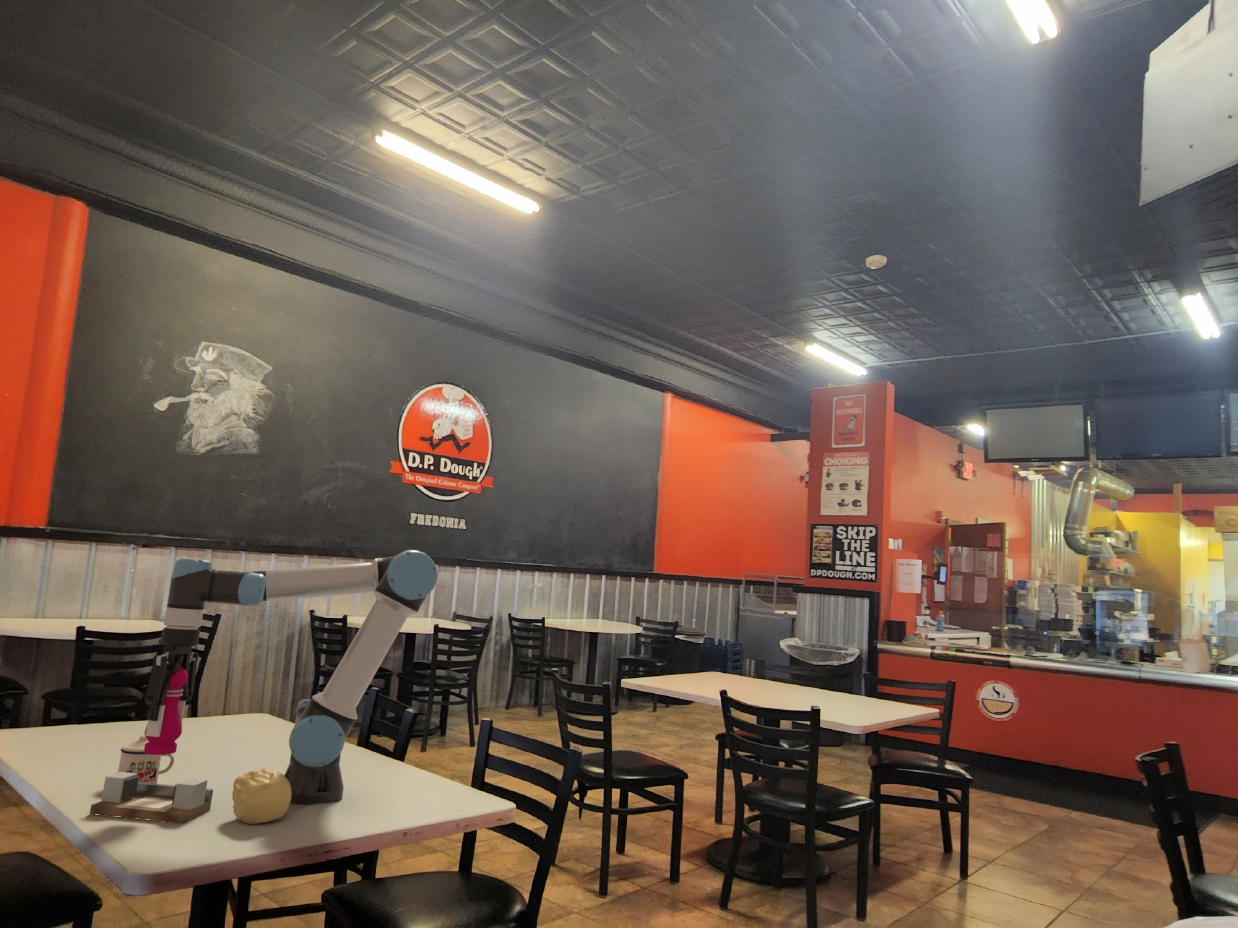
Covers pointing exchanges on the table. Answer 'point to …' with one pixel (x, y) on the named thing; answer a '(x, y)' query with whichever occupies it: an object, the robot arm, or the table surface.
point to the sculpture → (261, 796)
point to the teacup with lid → (142, 761)
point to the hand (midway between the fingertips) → (163, 732)
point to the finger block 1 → (120, 787)
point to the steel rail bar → (163, 791)
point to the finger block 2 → (189, 794)
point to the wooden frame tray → (148, 809)
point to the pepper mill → (169, 718)
